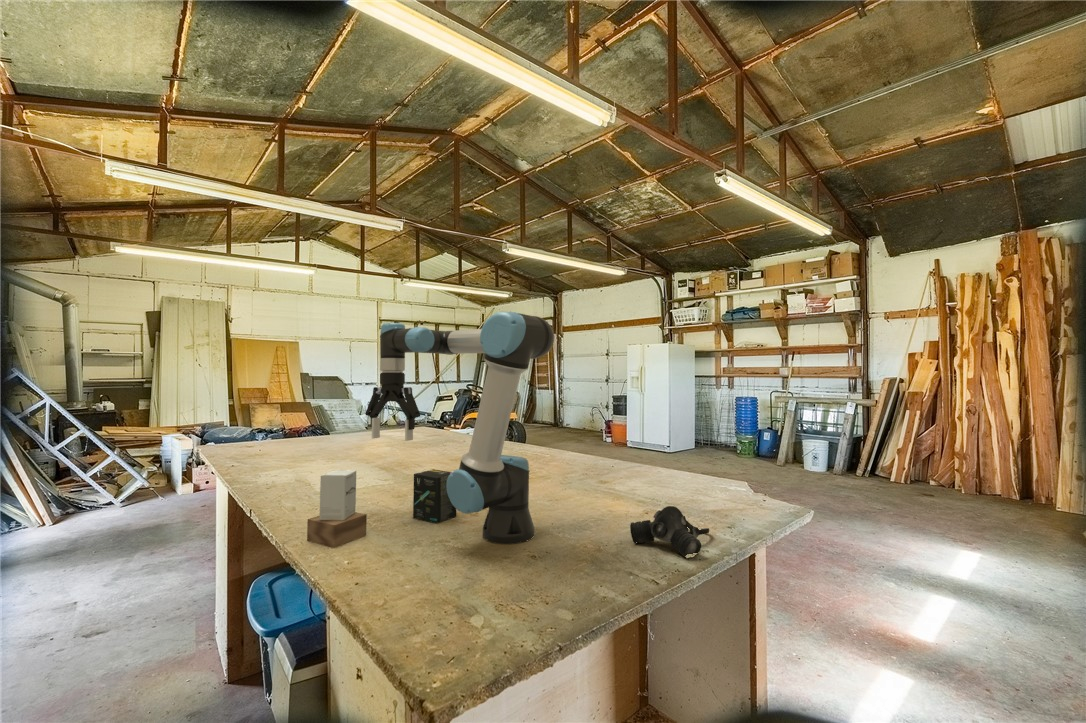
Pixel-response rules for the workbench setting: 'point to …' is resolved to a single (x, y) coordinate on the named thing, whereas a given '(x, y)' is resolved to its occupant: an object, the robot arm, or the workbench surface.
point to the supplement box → (337, 495)
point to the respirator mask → (669, 530)
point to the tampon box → (432, 497)
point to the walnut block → (336, 530)
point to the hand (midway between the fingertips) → (392, 439)
